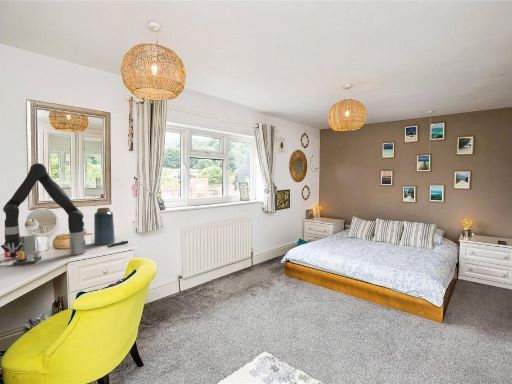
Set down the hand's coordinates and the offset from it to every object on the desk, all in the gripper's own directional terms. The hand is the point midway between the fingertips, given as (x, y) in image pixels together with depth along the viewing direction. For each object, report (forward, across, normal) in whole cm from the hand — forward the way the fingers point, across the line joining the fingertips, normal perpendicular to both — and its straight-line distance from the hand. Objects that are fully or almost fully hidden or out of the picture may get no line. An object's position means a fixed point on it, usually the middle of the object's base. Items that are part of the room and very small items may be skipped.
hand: (13, 257), depth 183 cm
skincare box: (+4, 0, -17) cm, 17 cm away
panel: (+4, -8, 0) cm, 9 cm away
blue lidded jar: (+4, -46, -44) cm, 64 cm away
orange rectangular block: (+2, -5, 0) cm, 5 cm away
